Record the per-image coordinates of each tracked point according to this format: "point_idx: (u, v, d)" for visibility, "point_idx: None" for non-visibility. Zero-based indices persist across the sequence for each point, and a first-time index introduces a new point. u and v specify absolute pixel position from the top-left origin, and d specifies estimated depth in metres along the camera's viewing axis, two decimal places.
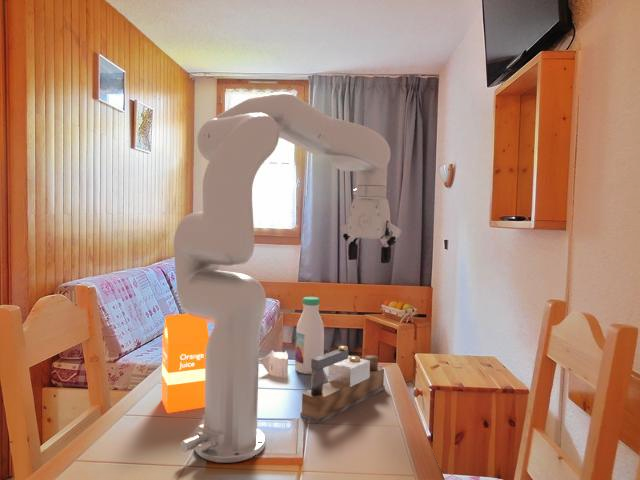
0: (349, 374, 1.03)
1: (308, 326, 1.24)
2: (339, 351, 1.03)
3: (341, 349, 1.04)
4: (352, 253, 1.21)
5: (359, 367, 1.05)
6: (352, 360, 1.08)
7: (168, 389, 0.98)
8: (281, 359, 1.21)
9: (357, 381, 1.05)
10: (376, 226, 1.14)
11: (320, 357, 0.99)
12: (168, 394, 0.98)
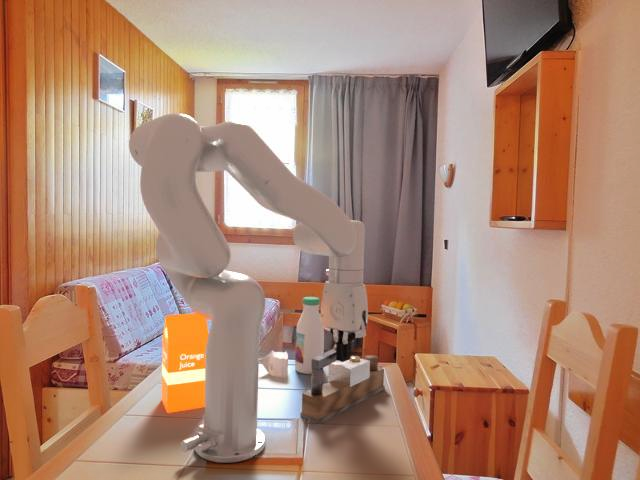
0: (349, 374, 1.03)
1: (308, 326, 1.24)
2: (335, 350, 1.04)
3: None
4: None
5: (359, 367, 1.05)
6: (352, 360, 1.08)
7: (168, 389, 0.98)
8: (281, 359, 1.21)
9: (357, 381, 1.05)
10: (350, 318, 0.97)
11: (319, 357, 0.99)
12: (168, 394, 0.98)
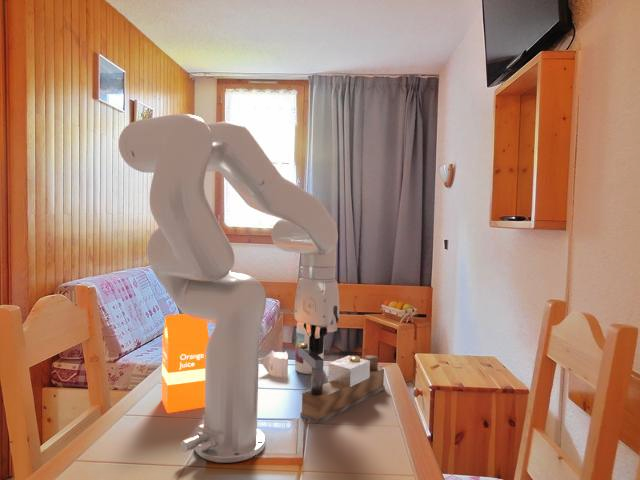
0: (349, 374, 1.03)
1: None
2: (307, 348, 1.05)
3: (305, 346, 1.05)
4: None
5: (359, 367, 1.05)
6: (352, 360, 1.08)
7: (168, 389, 0.98)
8: (281, 359, 1.21)
9: (357, 381, 1.05)
10: (322, 313, 1.01)
11: (315, 357, 0.99)
12: (168, 394, 0.98)
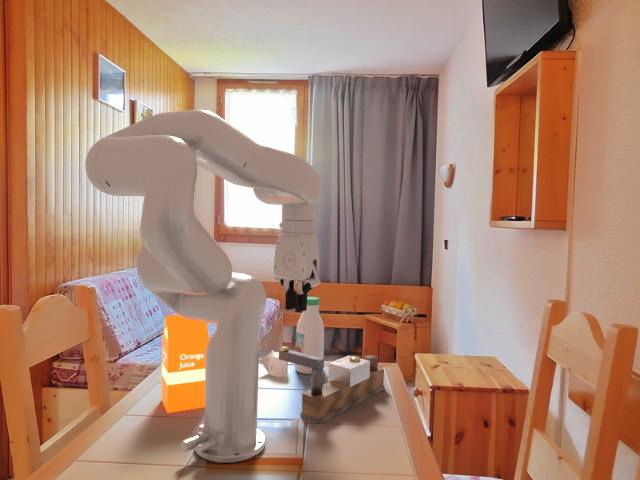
0: (349, 374, 1.03)
1: (308, 326, 1.24)
2: (291, 351, 1.02)
3: (288, 349, 1.03)
4: (289, 302, 1.05)
5: (359, 367, 1.05)
6: (352, 360, 1.08)
7: (168, 389, 0.98)
8: None
9: (357, 381, 1.05)
10: (301, 267, 1.00)
11: (312, 357, 0.98)
12: (168, 394, 0.98)
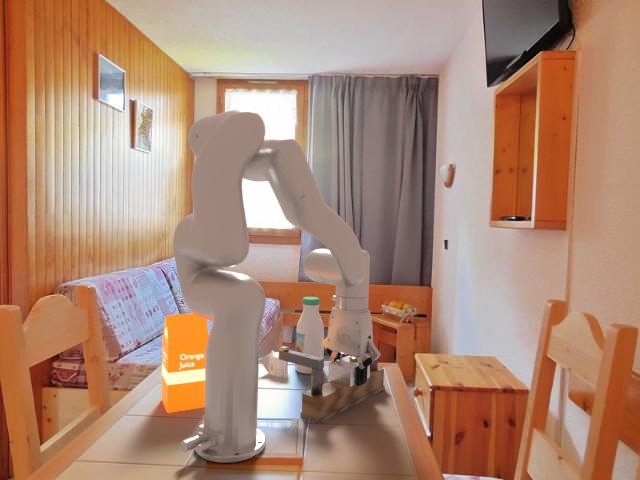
0: (349, 374, 1.03)
1: (308, 326, 1.24)
2: (291, 351, 1.02)
3: (288, 349, 1.03)
4: None
5: None
6: (352, 360, 1.08)
7: (168, 389, 0.98)
8: None
9: None
10: (356, 343, 1.03)
11: (312, 357, 0.98)
12: (168, 394, 0.98)
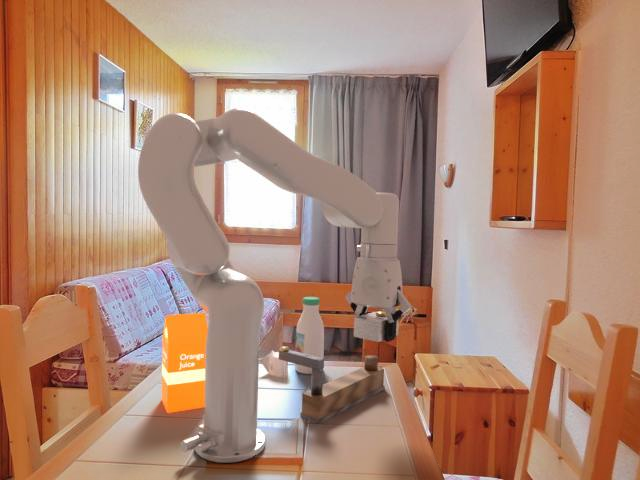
0: (377, 328, 0.93)
1: (308, 326, 1.24)
2: (291, 351, 1.02)
3: (288, 349, 1.03)
4: None
5: None
6: (379, 315, 0.98)
7: (168, 389, 0.98)
8: None
9: None
10: (385, 294, 0.93)
11: (312, 357, 0.98)
12: (168, 394, 0.98)
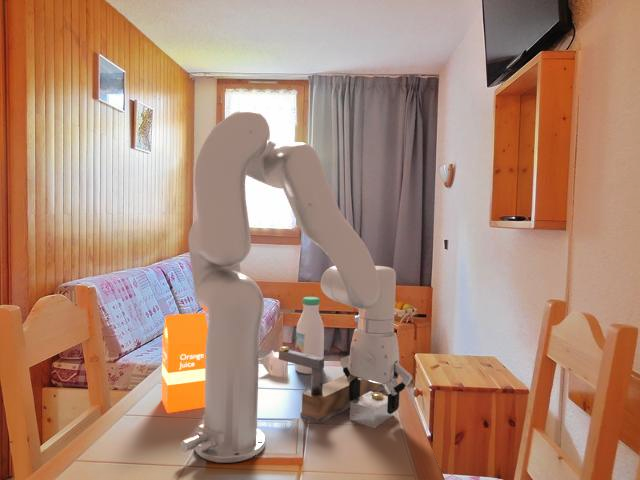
0: (373, 415, 0.94)
1: (308, 326, 1.24)
2: (291, 351, 1.02)
3: (288, 349, 1.03)
4: (354, 393, 1.01)
5: (384, 406, 0.97)
6: (375, 398, 0.99)
7: (168, 389, 0.98)
8: None
9: (381, 422, 0.96)
10: (382, 370, 0.94)
11: (312, 357, 0.98)
12: (168, 394, 0.98)
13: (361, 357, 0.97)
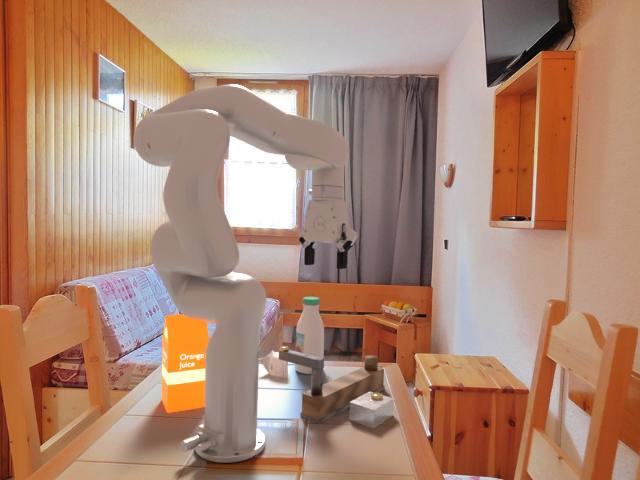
0: (373, 415, 0.94)
1: (308, 326, 1.24)
2: (291, 351, 1.02)
3: (288, 349, 1.03)
4: (308, 258, 1.13)
5: (383, 406, 0.97)
6: (374, 398, 0.99)
7: (168, 389, 0.98)
8: None
9: (381, 422, 0.96)
10: (331, 229, 1.06)
11: (312, 357, 0.98)
12: (168, 394, 0.98)
13: (314, 222, 1.09)
